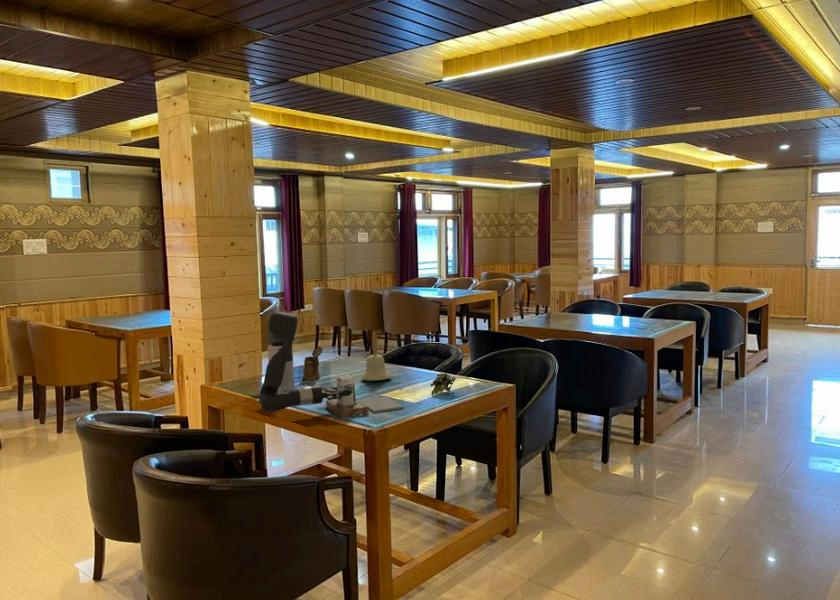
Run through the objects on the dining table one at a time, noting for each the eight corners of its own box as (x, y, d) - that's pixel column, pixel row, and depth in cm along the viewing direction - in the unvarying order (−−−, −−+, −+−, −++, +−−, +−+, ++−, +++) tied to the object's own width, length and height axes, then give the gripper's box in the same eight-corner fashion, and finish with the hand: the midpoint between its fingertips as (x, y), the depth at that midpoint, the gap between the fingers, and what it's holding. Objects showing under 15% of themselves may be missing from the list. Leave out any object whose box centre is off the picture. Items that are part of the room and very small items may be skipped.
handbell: (372, 384, 313) (370, 334, 311) (355, 380, 325) (352, 331, 322) (397, 379, 323) (395, 330, 321) (379, 375, 335) (377, 328, 332)
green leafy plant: (441, 403, 295) (451, 379, 299) (454, 403, 286) (464, 379, 290) (423, 392, 291) (432, 368, 295) (435, 392, 281) (445, 368, 286)
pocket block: (340, 418, 256) (340, 410, 256) (326, 407, 274) (326, 400, 274) (368, 413, 261) (368, 406, 261) (353, 403, 279) (352, 396, 279)
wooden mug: (314, 382, 323) (312, 347, 321) (299, 379, 333) (297, 345, 331) (328, 379, 329) (326, 345, 327) (313, 376, 339) (312, 342, 337)
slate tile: (374, 413, 262) (374, 410, 262) (358, 402, 280) (358, 400, 280) (403, 408, 267) (403, 406, 267) (385, 398, 286) (385, 396, 285)
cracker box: (278, 380, 330) (276, 341, 328) (289, 380, 329) (287, 340, 327) (269, 387, 316) (266, 345, 314) (281, 387, 316) (278, 345, 314)
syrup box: (343, 413, 264) (342, 378, 262) (337, 410, 269) (336, 376, 267) (356, 410, 267) (354, 376, 265) (350, 407, 272) (348, 374, 270)
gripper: (313, 389, 254) (352, 384, 260) (304, 383, 267) (342, 378, 273) (314, 408, 254) (353, 402, 261) (305, 400, 267) (342, 395, 274)
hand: (347, 390), depth 267 cm, fingers open, 8 cm apart
